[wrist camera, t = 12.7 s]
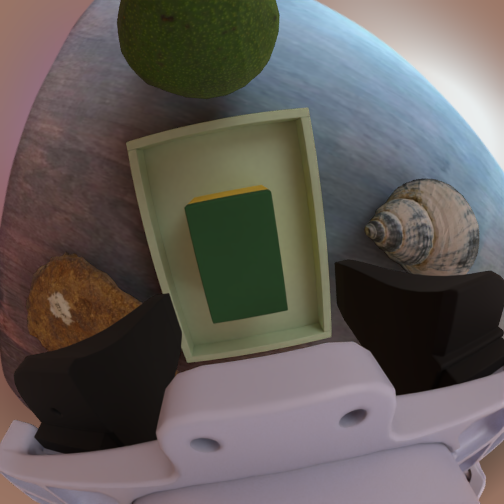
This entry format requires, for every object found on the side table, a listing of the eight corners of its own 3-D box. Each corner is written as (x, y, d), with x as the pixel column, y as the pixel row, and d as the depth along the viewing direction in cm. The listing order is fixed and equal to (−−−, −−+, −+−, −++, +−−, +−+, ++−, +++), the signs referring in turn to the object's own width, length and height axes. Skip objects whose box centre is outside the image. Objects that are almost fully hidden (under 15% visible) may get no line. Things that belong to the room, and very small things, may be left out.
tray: (324, 323, 22) (331, 337, 20) (189, 347, 22) (187, 363, 20) (300, 112, 17) (308, 107, 15) (135, 143, 17) (125, 142, 15)
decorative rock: (219, 317, 22) (62, 223, 19) (217, 346, 18) (32, 232, 15) (163, 402, 23) (35, 325, 21) (156, 432, 19) (14, 345, 17)
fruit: (151, 121, 16) (46, 75, 5) (147, 25, 14) (82, -72, 2) (271, 106, 17) (335, 28, 5) (259, 11, 14) (290, -104, 3)
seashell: (421, 275, 23) (339, 196, 20) (478, 229, 19) (408, 129, 16) (438, 328, 18) (350, 247, 15) (509, 277, 14) (447, 161, 11)
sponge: (277, 283, 20) (288, 310, 16) (215, 294, 20) (212, 324, 16) (262, 184, 18) (271, 190, 14) (193, 197, 18) (183, 207, 14)
